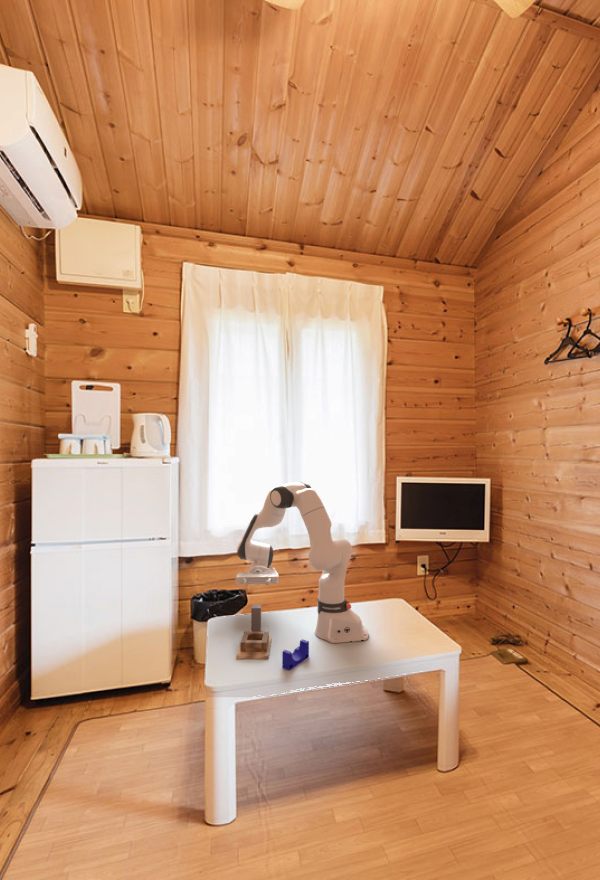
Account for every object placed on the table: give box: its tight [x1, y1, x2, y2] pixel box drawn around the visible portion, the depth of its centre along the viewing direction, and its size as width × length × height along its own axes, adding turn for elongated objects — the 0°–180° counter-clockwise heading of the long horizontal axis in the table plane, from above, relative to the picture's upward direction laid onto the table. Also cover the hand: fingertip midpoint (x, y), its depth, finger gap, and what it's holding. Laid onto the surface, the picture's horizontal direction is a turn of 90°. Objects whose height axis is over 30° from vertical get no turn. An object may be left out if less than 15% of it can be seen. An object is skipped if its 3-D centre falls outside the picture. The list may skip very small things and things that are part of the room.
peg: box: [250, 603, 262, 631], centre depth 170 cm, size 4×4×12 cm
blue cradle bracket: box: [281, 639, 310, 671], centre depth 148 cm, size 12×4×6 cm, turn 143°
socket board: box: [235, 630, 273, 660], centre depth 158 cm, size 12×16×4 cm
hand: (256, 583), depth 183 cm, fingers open, 8 cm apart
